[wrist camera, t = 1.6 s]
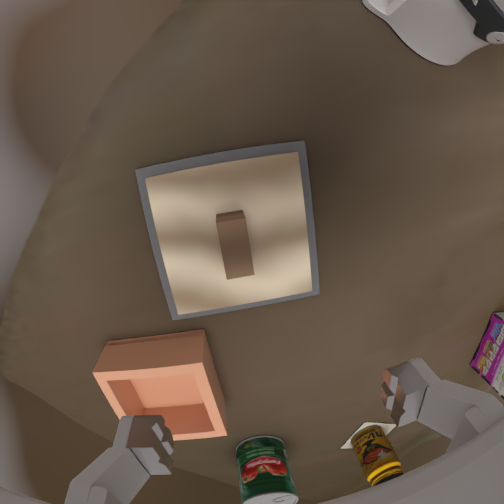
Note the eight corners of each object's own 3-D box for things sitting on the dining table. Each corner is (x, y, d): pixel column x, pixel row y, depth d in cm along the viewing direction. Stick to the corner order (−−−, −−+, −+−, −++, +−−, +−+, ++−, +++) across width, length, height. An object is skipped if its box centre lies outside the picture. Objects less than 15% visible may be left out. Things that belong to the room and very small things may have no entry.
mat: (136, 169, 27) (135, 169, 26) (302, 140, 28) (304, 140, 27) (173, 317, 32) (172, 320, 32) (318, 291, 33) (319, 294, 32)
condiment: (363, 421, 42) (390, 475, 31) (396, 423, 44) (424, 470, 33) (339, 447, 44) (360, 499, 33) (373, 447, 46) (395, 493, 35)
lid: (147, 177, 27) (134, 182, 23) (295, 152, 27) (308, 152, 23) (179, 311, 31) (174, 333, 27) (310, 287, 32) (322, 306, 28)
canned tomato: (253, 465, 43) (260, 517, 33) (225, 447, 41) (230, 504, 30) (293, 448, 42) (307, 501, 32) (268, 428, 40) (281, 488, 29)
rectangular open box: (107, 341, 32) (92, 372, 27) (204, 328, 33) (202, 362, 27) (141, 409, 36) (134, 441, 31) (225, 401, 37) (227, 435, 31)
